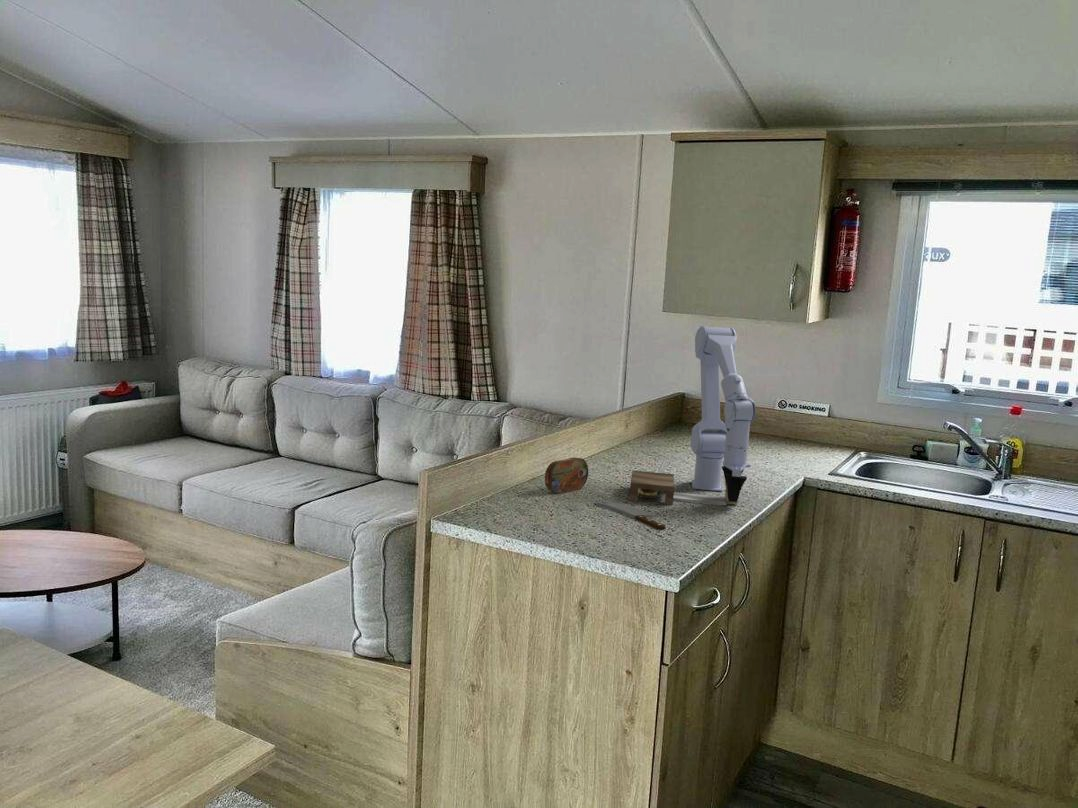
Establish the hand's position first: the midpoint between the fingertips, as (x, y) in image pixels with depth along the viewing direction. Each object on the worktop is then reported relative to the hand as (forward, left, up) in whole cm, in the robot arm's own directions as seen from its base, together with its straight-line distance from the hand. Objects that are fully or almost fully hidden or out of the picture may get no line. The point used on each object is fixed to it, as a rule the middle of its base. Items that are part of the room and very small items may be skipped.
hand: (731, 497), depth 231 cm
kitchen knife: (+19, -24, -2) cm, 30 cm away
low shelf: (0, -21, -2) cm, 21 cm away
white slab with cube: (0, -7, -2) cm, 7 cm away
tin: (+2, -43, -2) cm, 43 cm away
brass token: (0, -22, -2) cm, 22 cm away
